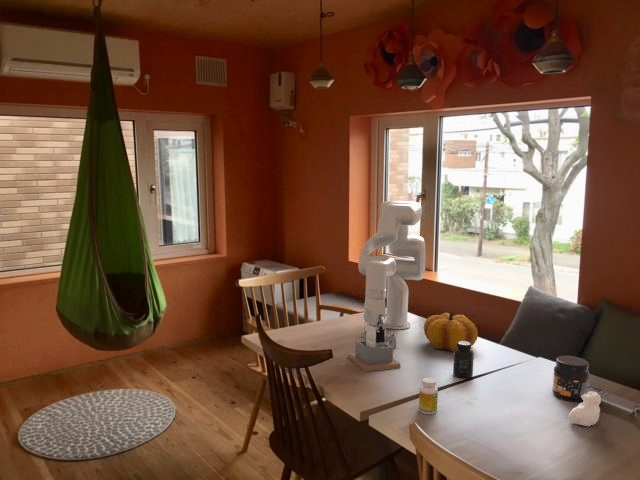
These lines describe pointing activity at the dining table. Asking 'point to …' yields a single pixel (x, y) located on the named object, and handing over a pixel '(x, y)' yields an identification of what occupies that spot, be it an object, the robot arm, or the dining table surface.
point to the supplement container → (570, 378)
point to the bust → (586, 410)
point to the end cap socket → (374, 357)
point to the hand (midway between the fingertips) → (374, 338)
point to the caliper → (388, 340)
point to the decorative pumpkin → (449, 330)
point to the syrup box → (372, 336)
